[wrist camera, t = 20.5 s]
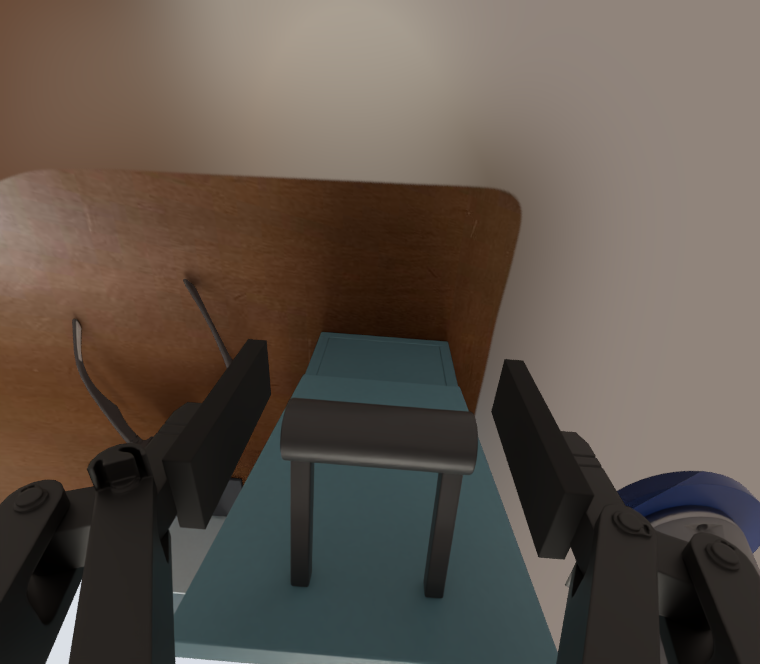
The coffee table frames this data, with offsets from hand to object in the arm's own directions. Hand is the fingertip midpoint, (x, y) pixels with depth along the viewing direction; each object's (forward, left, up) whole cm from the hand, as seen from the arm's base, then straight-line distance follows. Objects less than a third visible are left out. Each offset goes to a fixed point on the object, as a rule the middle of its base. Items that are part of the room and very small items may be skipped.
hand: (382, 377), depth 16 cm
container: (-7, +47, -21) cm, 52 cm away
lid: (-5, +7, -3) cm, 9 cm away
